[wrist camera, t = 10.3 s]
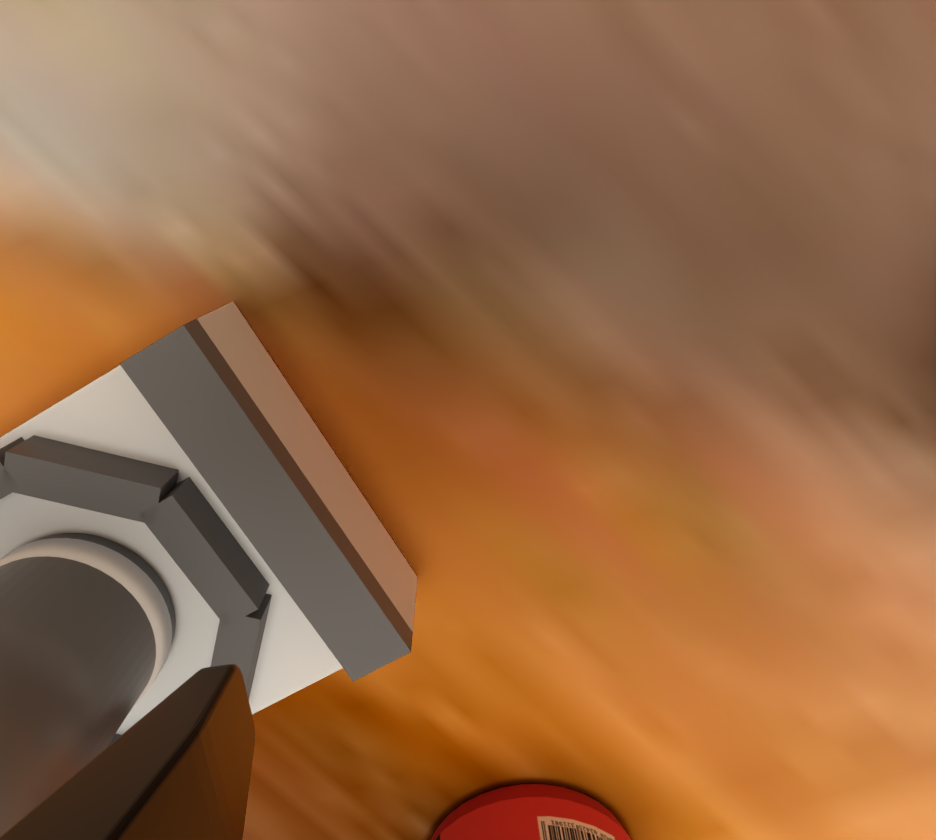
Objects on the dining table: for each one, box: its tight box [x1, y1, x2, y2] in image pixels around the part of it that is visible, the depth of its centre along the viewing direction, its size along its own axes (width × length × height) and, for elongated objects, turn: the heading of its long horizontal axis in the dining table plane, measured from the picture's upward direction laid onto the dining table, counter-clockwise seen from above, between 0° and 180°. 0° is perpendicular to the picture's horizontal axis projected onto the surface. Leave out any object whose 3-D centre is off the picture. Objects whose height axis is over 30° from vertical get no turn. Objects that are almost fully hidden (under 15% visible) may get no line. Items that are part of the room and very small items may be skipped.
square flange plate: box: [0, 301, 418, 748], centre depth 20 cm, size 13×10×4 cm
